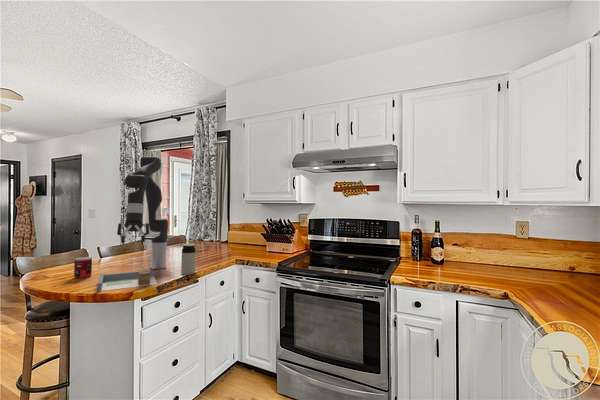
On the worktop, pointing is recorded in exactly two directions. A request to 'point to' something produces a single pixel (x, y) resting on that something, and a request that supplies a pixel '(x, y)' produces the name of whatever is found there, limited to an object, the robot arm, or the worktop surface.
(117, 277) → the tray
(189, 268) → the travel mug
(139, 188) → the robot arm
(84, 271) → the canned food
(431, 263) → the worktop surface
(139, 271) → the walnut block
